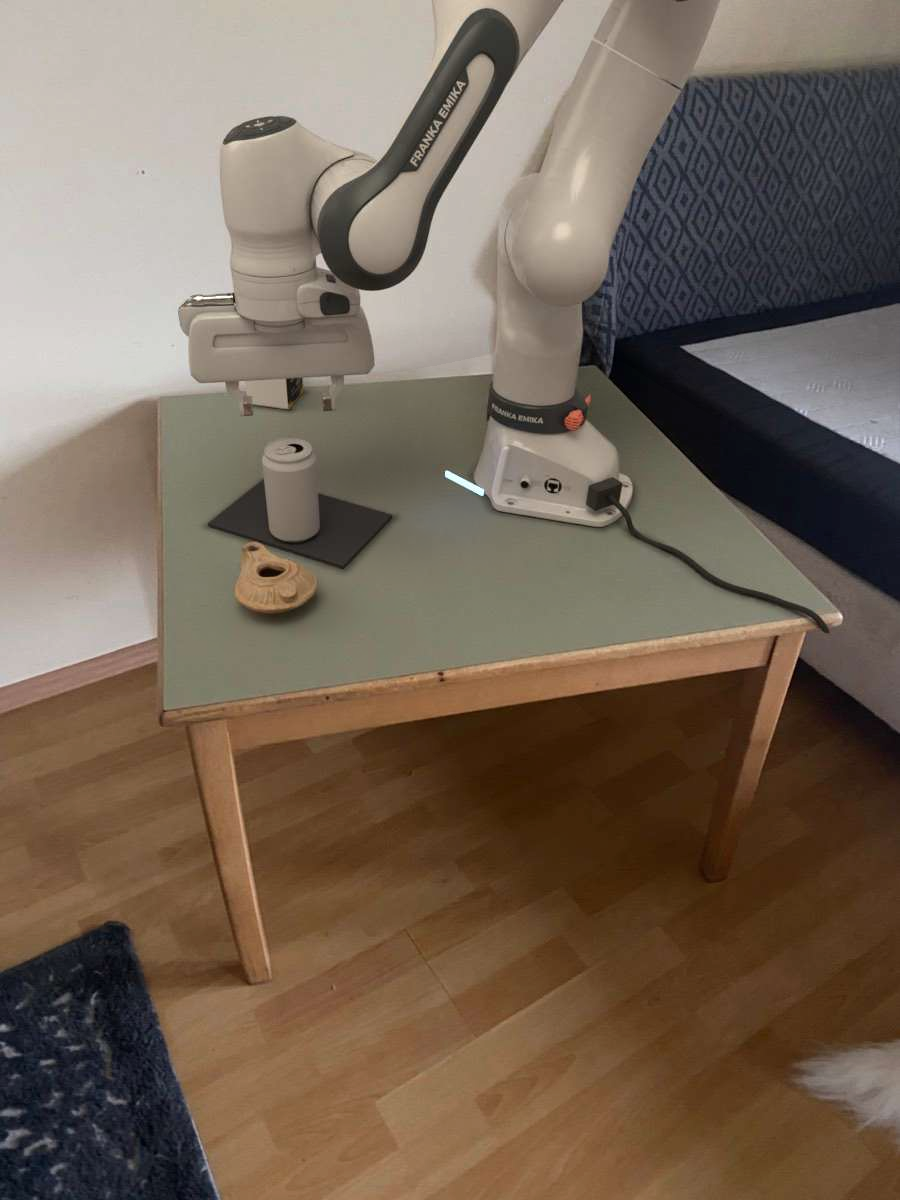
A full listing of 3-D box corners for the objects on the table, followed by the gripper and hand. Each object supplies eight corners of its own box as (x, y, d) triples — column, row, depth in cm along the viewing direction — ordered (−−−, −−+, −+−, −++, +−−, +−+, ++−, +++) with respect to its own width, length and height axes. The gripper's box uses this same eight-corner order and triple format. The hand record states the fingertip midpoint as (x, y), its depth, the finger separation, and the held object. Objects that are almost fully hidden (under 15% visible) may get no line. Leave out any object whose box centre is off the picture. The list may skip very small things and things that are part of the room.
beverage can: (329, 536, 111) (324, 453, 103) (282, 551, 108) (275, 466, 100) (306, 513, 115) (300, 430, 107) (261, 527, 112) (251, 443, 104)
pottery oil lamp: (283, 553, 108) (305, 517, 103) (306, 635, 102) (330, 601, 97) (214, 549, 103) (234, 510, 98) (234, 635, 97) (256, 599, 92)
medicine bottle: (289, 410, 139) (283, 337, 131) (246, 404, 140) (238, 332, 132) (304, 392, 144) (299, 320, 137) (263, 386, 145) (256, 315, 138)
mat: (392, 517, 116) (392, 514, 116) (343, 569, 106) (343, 565, 106) (265, 480, 122) (264, 477, 121) (208, 526, 112) (207, 523, 112)
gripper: (173, 306, 88) (194, 429, 97) (374, 298, 92) (378, 418, 100) (176, 285, 93) (197, 404, 102) (367, 278, 96) (371, 394, 105)
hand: (288, 411), depth 101 cm, fingers open, 8 cm apart
